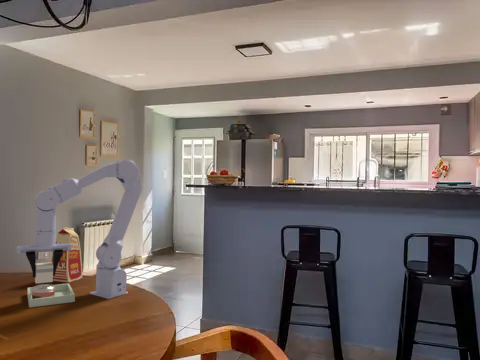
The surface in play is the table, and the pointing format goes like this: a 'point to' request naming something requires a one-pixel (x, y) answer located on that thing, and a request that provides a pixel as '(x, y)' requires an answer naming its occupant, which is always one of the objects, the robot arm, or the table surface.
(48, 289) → the tin can
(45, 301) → the tray
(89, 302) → the table surface
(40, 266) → the tea box
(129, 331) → the table surface
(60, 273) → the milk carton
